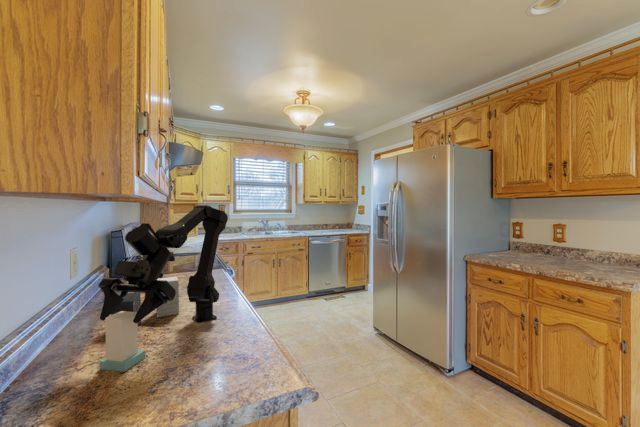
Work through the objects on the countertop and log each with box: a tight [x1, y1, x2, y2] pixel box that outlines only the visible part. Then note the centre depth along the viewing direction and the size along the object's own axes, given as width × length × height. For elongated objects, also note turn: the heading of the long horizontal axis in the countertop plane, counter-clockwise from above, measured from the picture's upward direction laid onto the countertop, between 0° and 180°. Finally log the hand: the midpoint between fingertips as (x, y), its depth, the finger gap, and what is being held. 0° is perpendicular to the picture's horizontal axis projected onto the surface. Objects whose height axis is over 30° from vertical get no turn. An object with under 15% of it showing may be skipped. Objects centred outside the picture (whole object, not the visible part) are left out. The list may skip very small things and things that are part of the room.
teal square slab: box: [99, 349, 147, 372], centre depth 71 cm, size 6×6×2 cm
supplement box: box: [156, 276, 180, 318], centre depth 110 cm, size 7×7×13 cm
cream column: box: [104, 311, 139, 362], centre depth 71 cm, size 4×4×10 cm
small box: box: [110, 292, 142, 327], centre depth 95 cm, size 11×6×10 cm, turn 21°
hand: (117, 321), depth 70 cm, fingers open, 9 cm apart
